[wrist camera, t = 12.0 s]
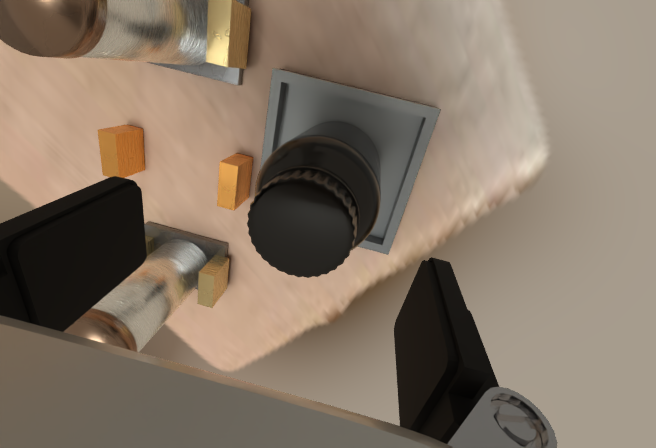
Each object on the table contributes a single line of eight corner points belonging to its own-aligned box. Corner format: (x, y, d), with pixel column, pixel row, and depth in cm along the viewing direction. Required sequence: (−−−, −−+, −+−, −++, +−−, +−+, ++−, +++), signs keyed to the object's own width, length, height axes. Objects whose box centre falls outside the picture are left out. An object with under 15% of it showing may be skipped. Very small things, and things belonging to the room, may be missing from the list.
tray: (280, 68, 22) (272, 68, 21) (436, 107, 22) (440, 109, 20) (261, 210, 27) (254, 218, 26) (387, 244, 27) (388, 254, 25)
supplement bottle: (398, 174, 23) (414, 255, 13) (328, 221, 26) (292, 320, 15) (344, 97, 22) (310, 115, 11) (275, 155, 24) (192, 214, 14)
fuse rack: (114, -44, 21) (-160, -172, 10) (271, -8, 20) (153, -102, 10) (137, 268, 32) (19, 359, 22) (237, 296, 32) (167, 403, 21)
